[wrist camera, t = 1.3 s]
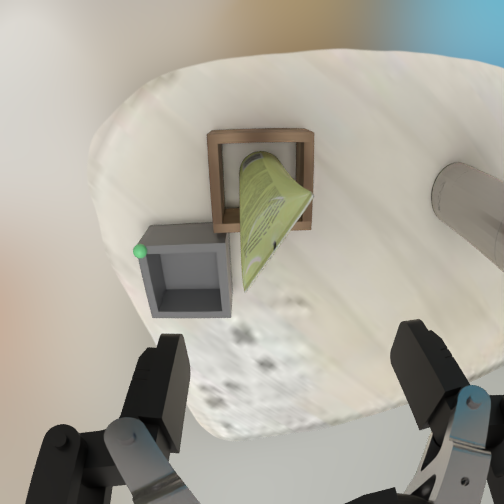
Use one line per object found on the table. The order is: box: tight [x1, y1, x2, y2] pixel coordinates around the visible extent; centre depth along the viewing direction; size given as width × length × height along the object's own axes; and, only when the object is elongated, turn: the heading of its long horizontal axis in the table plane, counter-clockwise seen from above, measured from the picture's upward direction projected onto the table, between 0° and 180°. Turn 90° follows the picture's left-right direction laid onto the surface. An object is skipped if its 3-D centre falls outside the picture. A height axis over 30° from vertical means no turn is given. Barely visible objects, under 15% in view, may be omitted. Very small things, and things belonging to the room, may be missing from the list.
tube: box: [239, 151, 314, 293], centre depth 27 cm, size 6×5×20 cm
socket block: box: [133, 223, 233, 318], centre depth 37 cm, size 10×10×7 cm
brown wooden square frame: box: [207, 128, 314, 233], centre depth 33 cm, size 10×10×5 cm
